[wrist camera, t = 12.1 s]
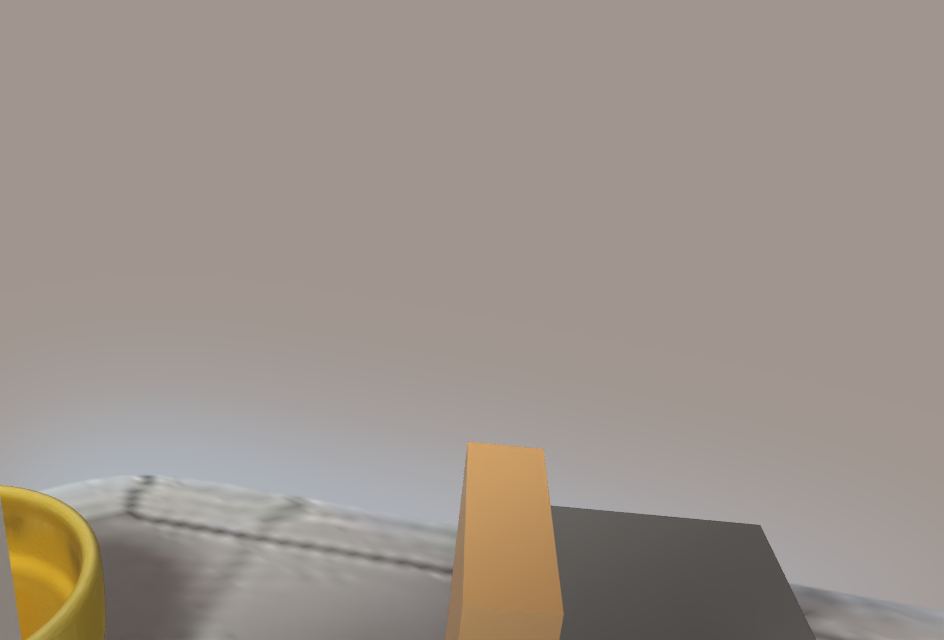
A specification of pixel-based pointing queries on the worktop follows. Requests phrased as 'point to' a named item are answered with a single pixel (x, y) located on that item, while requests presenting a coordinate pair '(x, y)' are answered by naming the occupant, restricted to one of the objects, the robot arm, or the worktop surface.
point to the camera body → (670, 579)
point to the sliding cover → (505, 549)
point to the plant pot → (53, 568)
